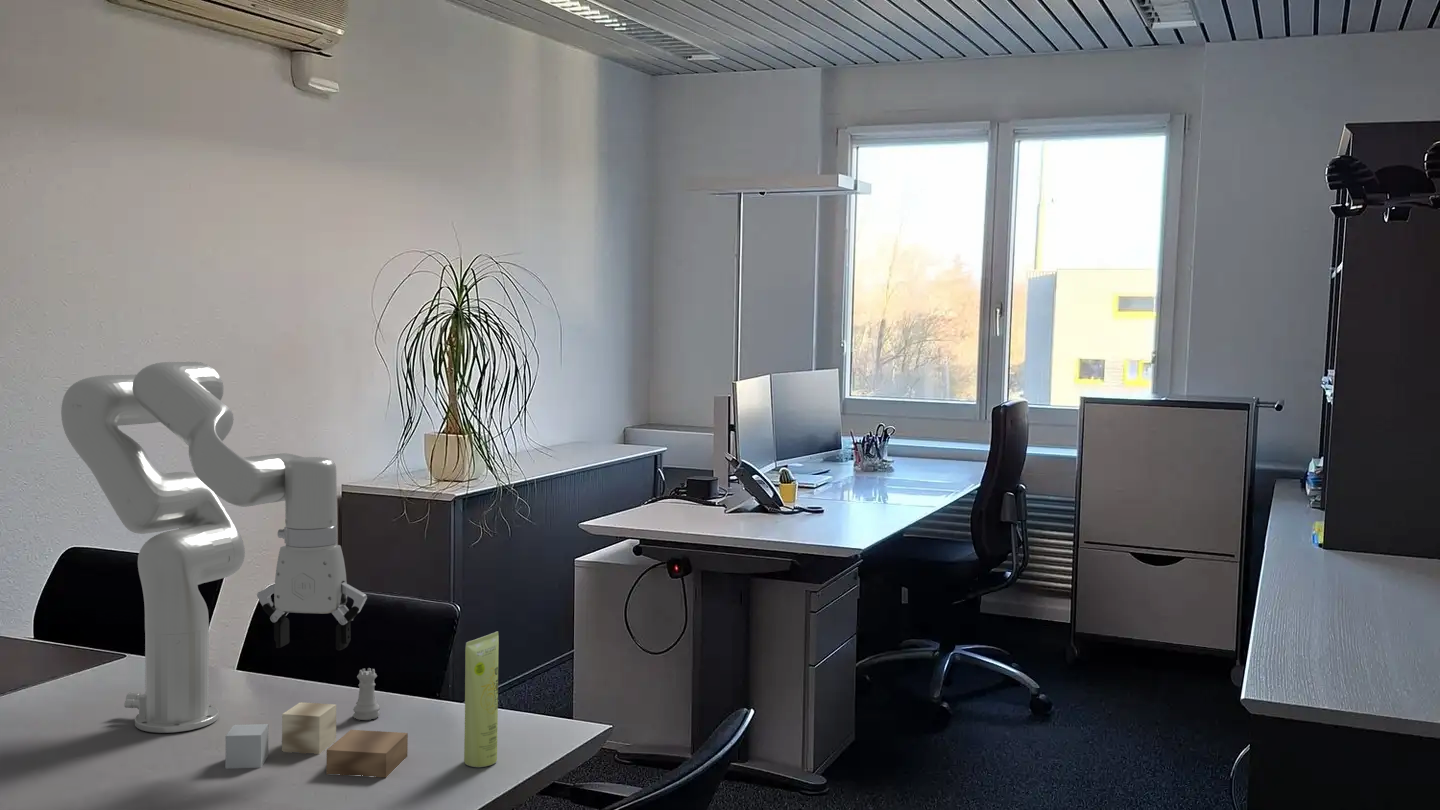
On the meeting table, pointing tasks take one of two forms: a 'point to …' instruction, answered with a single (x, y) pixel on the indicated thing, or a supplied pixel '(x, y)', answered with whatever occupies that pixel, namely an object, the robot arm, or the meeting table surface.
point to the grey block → (246, 746)
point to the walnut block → (367, 753)
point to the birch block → (308, 728)
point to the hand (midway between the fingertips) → (312, 647)
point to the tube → (481, 701)
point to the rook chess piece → (366, 696)
